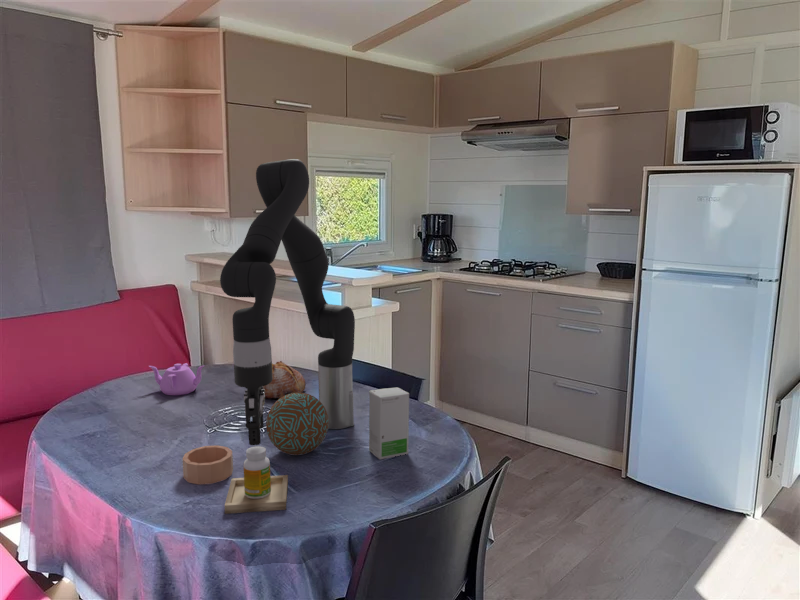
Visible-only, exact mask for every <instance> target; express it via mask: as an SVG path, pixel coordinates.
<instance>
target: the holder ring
mask: <svg viewBox="0 0 800 600" xmlns="http://www.w3.org/2000/svg"><path fill="white" fill-rule="evenodd" d="M233 457H234V456H233V449H230V448H229V447H228V446H222V445H217V444H216V445H203V446H201V447H200V446H199V447H197V448H192V449H191V450H189V451H187V452H186V453H184V455H183V457H182V474H183V479H184V480H185V481H186V482H187V483H190V484H193V485H212V484H215V483H220V482H223V481H225V480H227V479H228V478H229V477H231V476H233V473H234V472H233V471H234V458H233Z"/></svg>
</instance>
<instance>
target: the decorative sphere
mask: <svg viewBox="0 0 800 600" xmlns="http://www.w3.org/2000/svg"><path fill="white" fill-rule="evenodd" d="M265 422H266V424H265V427H266V431H267V436H268V438H269V441H270V442H271V444H273V446H274V447H275V448H276V449H277V450H279V451H281V452H282V453H285V454H287V455H291V456H302V455H306V454H309V453H311V452H312V451H314V450H316V449H317V448H318V447H319V446H320V445H321V444H322V443H323V442H324V441H325V439H326V436H327V434H328V431H329V429H328V424H329V420H328V415H327V412H326V409H325V407H324V406H323V404H322V403H321V402H320V401H319V398H316V397H315V396H314V395H312V394H309V393H306V392H301V393H297V392H296V393H290V394H287V395H286V396H283V397H281V398H277V400H276V401H275V402H274V403H273V405H272V406H271V408H270V410H269V411H268V414H267V416H266V421H265Z"/></svg>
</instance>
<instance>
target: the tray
mask: <svg viewBox="0 0 800 600" xmlns="http://www.w3.org/2000/svg"><path fill="white" fill-rule="evenodd" d="M270 478H271V492H270V494H269V495H268V496H267V497H264V498H261V499H250V498H248V497H246V496H245V490H244V477H236V478H235V477H233V478H231V480H230V483H229V487H228V492H227V494H226V499H225V503H224V514H225V515H226V514H227V515H228V514H242V513H243V514H245V513H258V512H271V511H285V510H287V501H288V486H289V474H281V475H270Z"/></svg>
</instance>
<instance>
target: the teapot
mask: <svg viewBox="0 0 800 600" xmlns="http://www.w3.org/2000/svg"><path fill="white" fill-rule="evenodd" d="M148 367H149V368H151V370H152V371H153V375H154V380H155V383H157V385H159V390H160V391H161V392H162V393H163V394H165V395H166V396H184V395H188V394H190V393H193V392H194V391H195V390H196V389H197V387H198V385H199V384H200V383H201V381H202V369H203V368H204V367H205V365H199V366H198V368H197V369H196V375H195V373H194V371H193V370H192V369H191V368H190V367H189V364H188V362H186V363H183V364H182V363H175V364H173V366H171V367H168V368H167V369H166V370H165V371H164V372H163V375H160V373H159V370H158V368H157V366H154V365H148Z"/></svg>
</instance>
